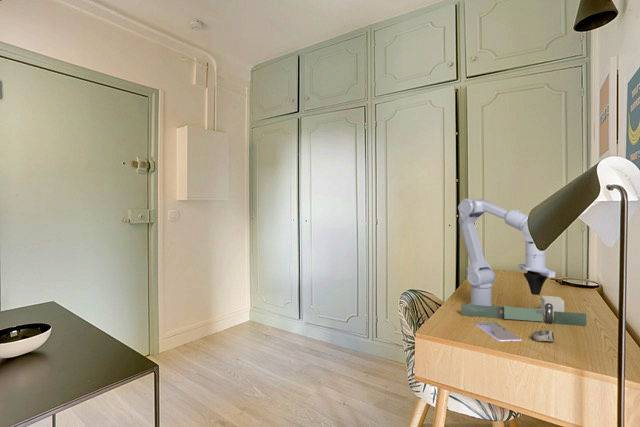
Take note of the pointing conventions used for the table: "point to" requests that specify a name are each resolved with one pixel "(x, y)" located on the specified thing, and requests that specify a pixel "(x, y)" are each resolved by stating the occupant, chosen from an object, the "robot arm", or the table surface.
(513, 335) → the mobile phone
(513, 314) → the sage green stepped bar
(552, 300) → the off-white chamfered cube
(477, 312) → the latch stile
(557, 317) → the hinge post
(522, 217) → the robot arm
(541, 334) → the wristwatch
